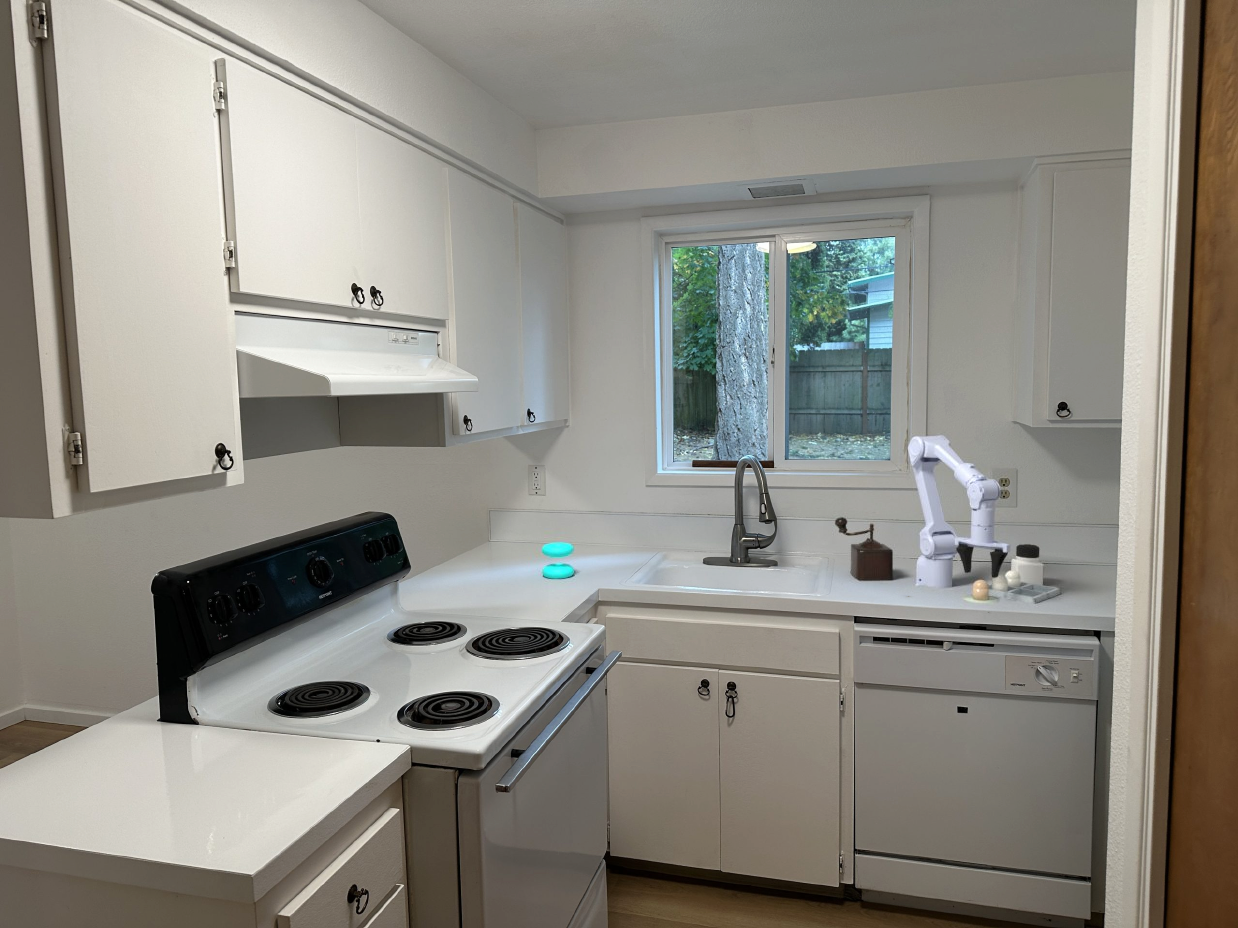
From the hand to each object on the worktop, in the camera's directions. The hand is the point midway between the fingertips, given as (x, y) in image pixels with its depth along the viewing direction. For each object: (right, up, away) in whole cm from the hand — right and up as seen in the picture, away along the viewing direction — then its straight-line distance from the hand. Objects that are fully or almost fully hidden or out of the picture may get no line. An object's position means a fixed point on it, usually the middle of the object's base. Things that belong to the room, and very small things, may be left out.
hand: (981, 574), depth 233 cm
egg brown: (0, -7, +1) cm, 7 cm away
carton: (+13, -7, +6) cm, 16 cm away
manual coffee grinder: (-23, -5, +32) cm, 40 cm away
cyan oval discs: (-117, -6, +40) cm, 123 cm away
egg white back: (+14, -5, +11) cm, 18 cm away
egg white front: (+8, -6, +7) cm, 12 cm away
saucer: (0, -7, +1) cm, 7 cm away
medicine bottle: (+20, -6, +18) cm, 28 cm away
